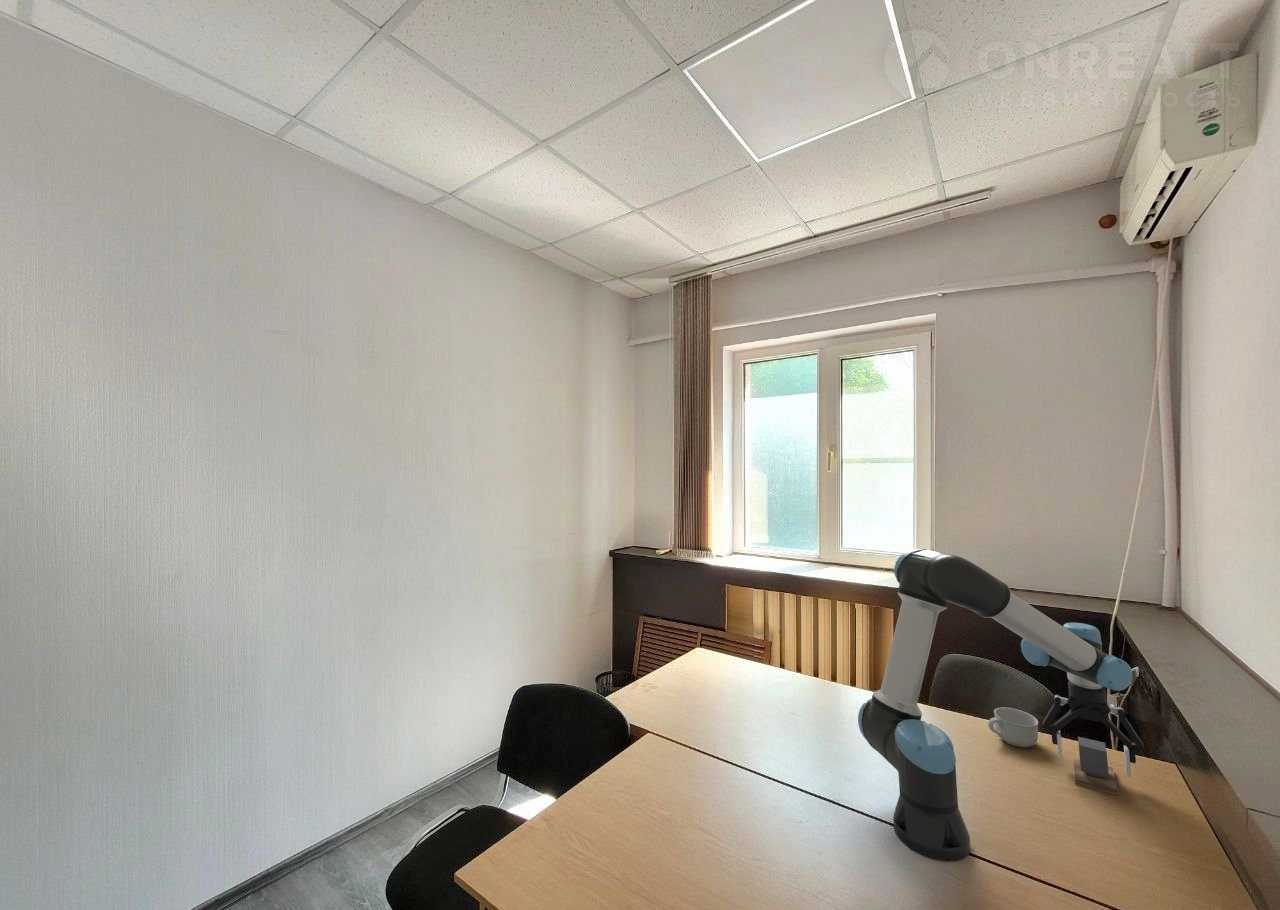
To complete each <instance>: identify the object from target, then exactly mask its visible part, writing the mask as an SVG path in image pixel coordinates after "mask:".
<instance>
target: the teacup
mask: <svg viewBox="0 0 1280 910" xmlns="http://www.w3.org/2000/svg"><path fill="white" fill-rule="evenodd" d="M993 714H994V717H991V718H990V719H989V720H988V722H987V723H988V724H987V726H988V728H989V729H990V731H992V733H994V734H996V735H997V736H998V737H999V738H1001V739H1002V740H1003V741H1004V742H1005V743H1007V744H1009V745H1011V746H1015V747H1017V748H1029V747H1031V746H1034V745H1035V744H1037V742H1038V739H1039V720H1038V718H1036V717H1035V716H1034V715H1032V714H1031V713H1028V712H1025V711H1023V710H1020V709H1017V708H1013V707H1005V706H1003V707H997V708H995V709H994V710H993ZM994 727H995V728H994Z"/></svg>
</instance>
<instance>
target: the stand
mask: <svg viewBox="0 0 1280 910" xmlns="http://www.w3.org/2000/svg"><path fill="white" fill-rule="evenodd" d="M1072 759H1073V769H1074V781H1075V782H1074V783H1075V784H1074V785H1077V786H1078V785H1079V786H1083V787H1085V788H1089V789H1093V790H1097V791H1100V792H1104V793H1107V794H1112V795H1114V796H1119V793H1118V792H1119V791H1118V787H1117V782H1116V777H1115V770H1114V767H1111V766H1108V772H1109V778H1107V777H1103V776H1099V775H1095V774H1091V773H1087V772H1084V771H1081V766H1080V758H1074V757H1073V758H1072Z"/></svg>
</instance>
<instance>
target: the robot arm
mask: <svg viewBox="0 0 1280 910" xmlns="http://www.w3.org/2000/svg"><path fill="white" fill-rule="evenodd" d="M893 571H894V572H893V573H894V577H895V578H896V582H897V583H898V584H899V585H898V589H897V594H898V596H899V598H900V599H901V603H900V604H901V605H900V609H899V611H898V617H897V621H896V625H895V629H894V633H893V636H892V637H893V638H892V641H891V646H890V650H889V654H888V658H887V661H886V665H885V670H884V674H883V678H882V681H881V687H880V689H877V690H876V691H874V692H873V693H872V697H871V698H868V699H867V700H866V702H864V703H862V705H861V707H860V708H859V711H858V716H857V724H858V728H859V730H860V733H861V735H862V736H863V738H864V739H865V740H866V741H867V743H868V744H869V745H870V747H871V748H872V749H873V750H875V751H876V752H877V753H879V755H880V756H882V757H883V758H884V760H886V762H888V763H889V764H890V765H891V766H892V767H893V768H894V769H895V770H896V771H897V773H898V786H899V796H898V798H897V799H898V800H897V802H896V805H895V809H894V812H893V816H892V819H893V820H892V822H893V830H894V832H895V834H896V835H895V836H897V838H898V839H899V840H900V841H901V842H902V843H903V844H904V845H905V846H906V847H907V848H909V849H910V850H912V851H913V852H915V853H918V854H919V855H922V856H924V857H926V858H929V859H932V860H935V861H942V862H958V861H962V860H963V859H965V858H967V857H968V856H969V854H970V853H971V839H970V838H971V837H970V833H969V830H968V829H967V826H966V824H965V821H964V819H963V816H962V813H961V811H960V809H959V799H958V788H957V787H958V782H957V770H956V767H957V766H956V765H957V764H956V761H957V758H956V754H955V749H954V745H953V742H952V739H951V738H950V737H949V736H948V734H947V733H946V732H944V730H942V729H941V728H939V727H938V726H936V725H934V724H932V723H927V722H926V721H924V720H922V716H923V712H922V710H921V708H920V707H919V705H918V701H919V698H920V694H921V689H922V685H923V680H924V676H925V672H926V668H927V663H928V659H929V655H930V650H931V646H932V642H933V640H934V639H933V637H934V634H935V629H936V626H937V621H938V616H939V614H940V613H941V612H943V611H945V610H947V609H948V606H949V603H950V604H953V605H956V606H959V607H962V608H964V609H965V608H966V609H967V610H969V611H972V612H973V613H975V614H977V615H978V616H980V617H982V618H986V619H990V618H991V619H993V620H994V621H995V622H997V623H999V624H1001V625H1002V626H1004V627H1005V628H1007V629H1008V630H1010V631H1011V632H1013V633H1014V634H1017V636H1020V637H1021V639H1022V640H1021V642H1020V649H1021V653H1022V656H1023V657H1024V658H1025V660H1026V661H1027V662H1028V663H1030V664H1031V665H1034V666H1042V667H1047V666H1052V667H1054V668H1056V669H1059V670H1062V671H1063V672H1066V676H1067V680H1068V682H1067V686H1068V698H1067V697H1062V696H1060V695H1059V694H1055V695H1054V702H1053V703H1052V705H1051V707H1050V709H1049V710H1048V711H1047V714H1046V716H1045V717H1044V719H1043V721H1042V728H1043V729H1045V730H1048V731H1050V732H1051V742H1052V744H1053V745H1057V752H1058V754H1057V755H1058V759H1059V760H1063V747H1062V737H1061V734H1062V733H1061V730H1062V729H1063V728H1064V727H1066V726H1067V725H1068V724H1069V723H1070V722H1072V721H1073V720H1075V719H1077V718H1078V717H1079V718H1081V719H1082V720H1090V721H1093V722H1095V723H1096V722H1097V723H1098V722H1101V723H1103V725H1105V726H1106V727H1107V729H1109V730H1110V731H1111V732H1112V733H1113V734H1114V735H1115V737H1117V738H1118V739H1119V741H1120V742H1121V743H1122V744H1123V752H1124V762H1125V772H1126V776H1127V777H1129V778H1131V777H1132V769H1131V763H1132V764H1136V762H1137V759H1136V751H1143V752H1144V751H1145V746H1144V743H1143V741H1142V740H1141V739H1140V737H1139V736H1138V734H1137V732H1136V730H1135V729H1134V728H1133V726H1132V725H1131V724H1130V721H1128V719H1127V717H1126V715H1125V711H1124V708H1123V707H1122V706H1116V707H1115V706H1109V705H1108V701H1107V700H1108V699H1107V689H1110V690H1111V691H1124V690H1125V689H1128V688H1129V686H1130V685H1131V682H1132V681H1133V671H1132V668H1131V666H1130V664H1128V663H1127V662H1126V661H1125V660H1123V659H1121V658H1118V657H1116V656H1115V655H1113V654H1108V653H1106V652H1104V651H1103V643H1102V637H1101V632H1100V630H1099V629H1098V628H1097V627H1095V626H1094V625H1090V624H1087V623H1082V622H1066V623H1064V624H1063V626H1062V625H1061V624H1060V623H1058V622H1057V621H1056V620H1053V619H1052V618H1050V617H1048V616H1047V615H1046V614H1044V613H1043V612H1042V611H1039V610H1038V609H1036V608H1035V607H1033V606H1032V605H1030V604H1029V603H1027V602H1026V601H1024V600H1022V599H1021V598H1020V597H1018V596H1016V595H1015V594H1014V593H1012V590H1011V588H1010V587H1009V586H1008V585H1007V584H1006V583H1005V582H1004V581H1001V580H1000V579H998V578H997V577H996V576H994V575H992V574H991V573H989V572H988V571H987V570H984V569H983V568H982V567H980V566H978V565H977V564H975V563H973V562H972V561H970V560H968V559H966V558H964V557H962V556H958V555H955V554H949V553H943V552H939V551H935V550H932V549H927V548H913V549H908V550H907V551H905V552H903V553H902V554H901V555H900V556H899V557H898V558H897V559H896V561H895V565H894V570H893ZM1065 704H1067V705H1068V706H1069V707H1070V709H1069V710H1068V712H1066V713H1065V714H1064V715H1063V716H1061V717H1060V718H1059V719H1058V720H1056V721H1055V722H1054V723H1052V722H1053V721H1054V719H1055V717H1056V715H1057V714H1058V712H1059V710H1060V708H1061V707H1063V706H1065ZM1110 713H1112V714H1113V715H1114V716H1115V717H1116V718H1118V719H1119V722H1120V723H1121V724H1122V726H1123V727H1124V729H1125V730H1126V732H1127V734H1128V735H1129V736H1130V738H1131V739H1132V741H1133V742H1132V741H1131V740H1130V739H1129V738H1128V737H1127V735H1125V733H1123V731H1121V729H1120V728H1118V727H1117V726H1116V724H1115V723H1114V722H1113V721H1111V719H1110V718H1109V717H1108V715H1109V714H1110Z"/></svg>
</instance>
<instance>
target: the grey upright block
mask: <svg viewBox="0 0 1280 910" xmlns="http://www.w3.org/2000/svg"><path fill="white" fill-rule="evenodd" d="M1077 740H1078V741H1077V742H1078V743H1077V744H1078V755H1079V759H1080V766H1081V771H1084V772H1087V773H1091V774H1095V775H1099V776H1103V777H1107V778H1109V772H1108V767H1109V765H1108V763H1109V762H1108V751H1107V747H1106V742H1104V741H1103V742H1102V741H1099V740H1096V739H1095V740H1094V739H1089V738H1086V737H1082V736H1081V737H1080V736H1077Z"/></svg>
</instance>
